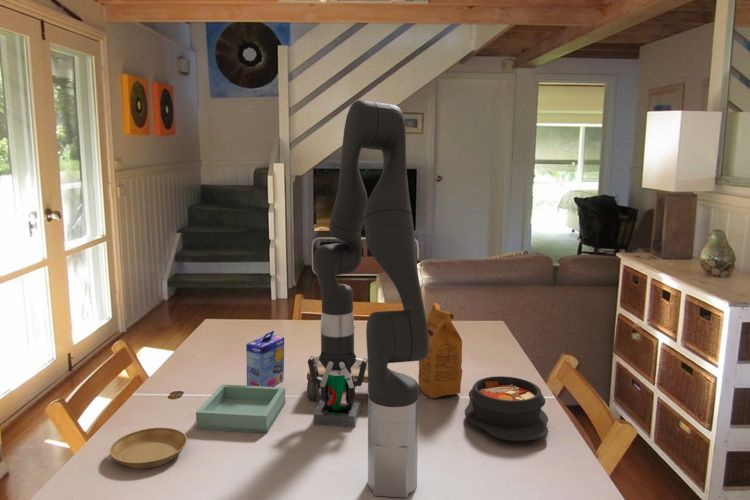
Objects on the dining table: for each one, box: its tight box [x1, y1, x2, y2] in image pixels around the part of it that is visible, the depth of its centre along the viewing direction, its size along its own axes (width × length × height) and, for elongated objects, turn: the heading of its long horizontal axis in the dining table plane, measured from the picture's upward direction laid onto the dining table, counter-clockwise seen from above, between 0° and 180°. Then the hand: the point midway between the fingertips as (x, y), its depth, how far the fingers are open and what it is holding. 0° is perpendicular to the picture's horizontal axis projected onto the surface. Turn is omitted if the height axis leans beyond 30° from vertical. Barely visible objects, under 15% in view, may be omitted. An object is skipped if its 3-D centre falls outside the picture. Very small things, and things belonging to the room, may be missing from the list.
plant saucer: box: [109, 427, 188, 470], centre depth 127 cm, size 15×15×3 cm
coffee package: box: [418, 302, 463, 399], centre depth 159 cm, size 10×12×22 cm
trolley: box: [306, 358, 368, 401], centre depth 158 cm, size 14×18×7 cm
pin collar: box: [313, 398, 362, 428], centre depth 145 cm, size 9×9×2 cm
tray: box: [195, 384, 286, 434], centre depth 145 cm, size 16×16×4 cm
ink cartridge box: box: [245, 330, 285, 387], centre depth 163 cm, size 10×6×14 cm, turn 152°
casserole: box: [464, 375, 549, 442], centre depth 142 cm, size 25×19×8 cm
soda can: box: [326, 369, 350, 414], centre depth 144 cm, size 5×5×12 cm
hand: (338, 400), depth 144 cm, fingers closed on soda can, 5 cm apart
